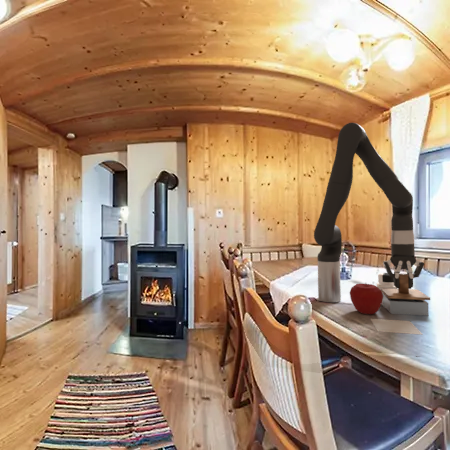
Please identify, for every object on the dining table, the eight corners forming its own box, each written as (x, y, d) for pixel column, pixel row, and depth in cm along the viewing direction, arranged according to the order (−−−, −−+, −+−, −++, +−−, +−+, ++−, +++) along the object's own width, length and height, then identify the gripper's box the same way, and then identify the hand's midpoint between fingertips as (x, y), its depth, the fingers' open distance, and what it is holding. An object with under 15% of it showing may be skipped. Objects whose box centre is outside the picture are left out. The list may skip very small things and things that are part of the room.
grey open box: (390, 314, 106) (390, 301, 106) (382, 305, 117) (382, 293, 117) (428, 317, 102) (428, 302, 102) (416, 307, 114) (416, 294, 114)
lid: (388, 298, 106) (388, 276, 106) (380, 290, 118) (380, 271, 118) (430, 300, 102) (429, 277, 102) (417, 291, 114) (417, 271, 114)
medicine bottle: (395, 300, 125) (395, 272, 125) (397, 304, 119) (396, 275, 119) (376, 298, 128) (376, 271, 128) (377, 303, 122) (377, 274, 122)
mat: (377, 333, 89) (377, 331, 89) (370, 320, 101) (370, 318, 101) (422, 336, 86) (422, 334, 86) (409, 322, 97) (409, 321, 97)
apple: (344, 312, 111) (343, 281, 111) (364, 308, 115) (363, 278, 115) (368, 320, 101) (367, 286, 100) (390, 316, 105) (389, 283, 105)
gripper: (383, 243, 108) (385, 289, 108) (427, 243, 104) (429, 291, 104) (379, 242, 116) (380, 285, 116) (420, 241, 111) (421, 286, 111)
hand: (403, 287), depth 110 cm, fingers closed on lid, 3 cm apart
